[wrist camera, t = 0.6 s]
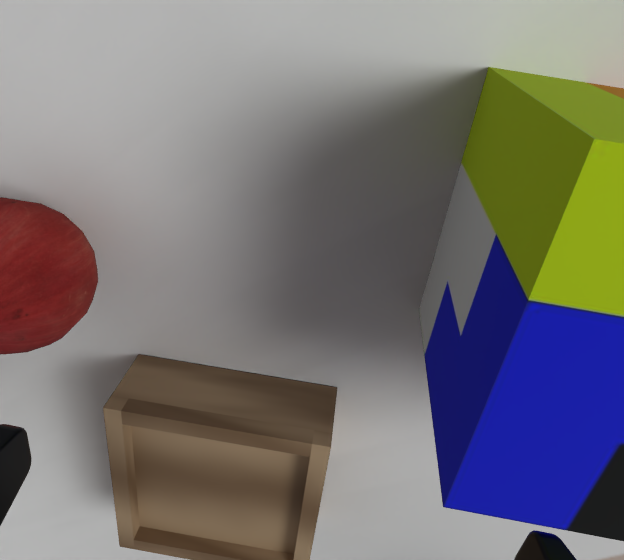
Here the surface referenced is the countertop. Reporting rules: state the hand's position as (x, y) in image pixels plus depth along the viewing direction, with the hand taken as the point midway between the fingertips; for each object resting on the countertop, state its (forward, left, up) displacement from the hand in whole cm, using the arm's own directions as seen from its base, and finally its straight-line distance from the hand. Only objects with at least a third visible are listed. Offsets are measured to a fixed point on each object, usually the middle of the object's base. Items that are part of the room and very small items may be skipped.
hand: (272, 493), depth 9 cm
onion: (-3, +12, -14) cm, 18 cm away
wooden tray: (-14, +4, -13) cm, 20 cm away
